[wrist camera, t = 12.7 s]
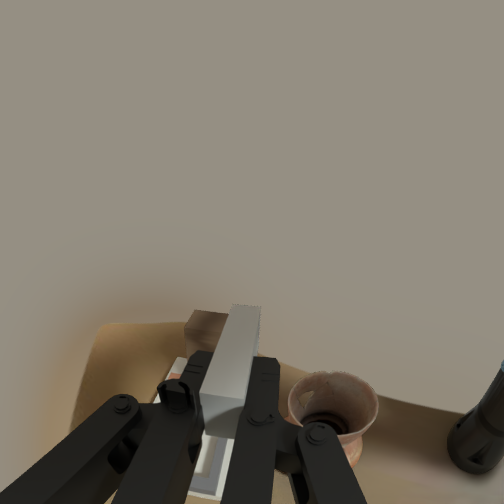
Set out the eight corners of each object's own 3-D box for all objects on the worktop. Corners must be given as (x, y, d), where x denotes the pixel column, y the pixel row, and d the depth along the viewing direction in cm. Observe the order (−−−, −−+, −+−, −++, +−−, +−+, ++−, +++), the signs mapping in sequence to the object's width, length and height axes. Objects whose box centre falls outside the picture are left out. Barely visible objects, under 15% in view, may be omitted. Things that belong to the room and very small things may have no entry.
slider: (232, 374, 50) (234, 314, 46) (227, 395, 44) (228, 333, 40) (198, 369, 50) (194, 309, 46) (190, 389, 45) (184, 327, 40)
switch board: (260, 375, 53) (262, 361, 52) (244, 503, 24) (245, 495, 23) (178, 363, 54) (176, 349, 53) (123, 474, 26) (115, 463, 25)
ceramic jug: (268, 415, 42) (276, 359, 38) (345, 412, 42) (367, 357, 37) (268, 502, 25) (282, 465, 21) (365, 492, 25) (407, 447, 20)
